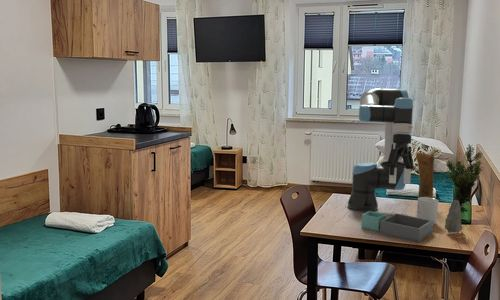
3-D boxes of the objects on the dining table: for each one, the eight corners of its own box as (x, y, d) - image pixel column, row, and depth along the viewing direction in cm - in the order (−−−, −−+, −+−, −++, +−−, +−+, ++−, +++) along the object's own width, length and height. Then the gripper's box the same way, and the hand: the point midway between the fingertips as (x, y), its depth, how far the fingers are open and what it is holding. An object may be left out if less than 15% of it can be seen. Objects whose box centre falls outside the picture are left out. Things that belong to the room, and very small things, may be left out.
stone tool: (459, 231, 209) (462, 198, 207) (463, 233, 206) (466, 200, 204) (441, 231, 208) (444, 198, 206) (445, 234, 205) (448, 200, 202)
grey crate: (379, 233, 203) (380, 221, 202) (394, 225, 216) (395, 213, 215) (418, 242, 193) (419, 229, 192) (432, 233, 206) (433, 220, 205)
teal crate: (361, 227, 211) (361, 214, 210) (368, 223, 217) (369, 211, 216) (378, 231, 206) (379, 218, 205) (385, 227, 212) (386, 214, 211)
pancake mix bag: (423, 210, 244) (428, 156, 240) (411, 201, 263) (415, 150, 259) (436, 210, 244) (441, 156, 240) (423, 201, 263) (427, 151, 259)
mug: (439, 225, 217) (441, 201, 215) (420, 225, 217) (422, 201, 215) (429, 218, 229) (431, 195, 227) (411, 217, 229) (412, 195, 227)
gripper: (397, 131, 193) (394, 183, 192) (423, 136, 211) (420, 184, 210) (380, 131, 198) (377, 182, 197) (406, 136, 216) (404, 183, 215)
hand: (399, 183), depth 204 cm, fingers open, 13 cm apart
